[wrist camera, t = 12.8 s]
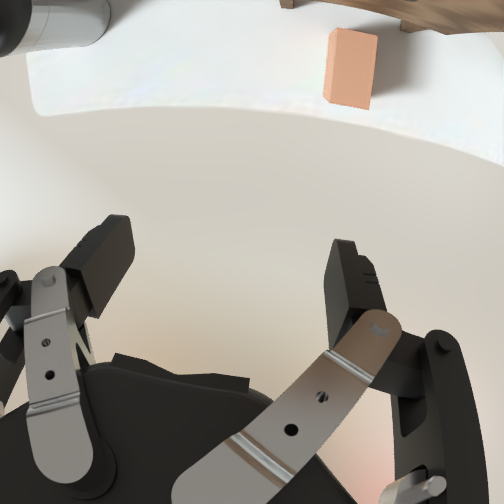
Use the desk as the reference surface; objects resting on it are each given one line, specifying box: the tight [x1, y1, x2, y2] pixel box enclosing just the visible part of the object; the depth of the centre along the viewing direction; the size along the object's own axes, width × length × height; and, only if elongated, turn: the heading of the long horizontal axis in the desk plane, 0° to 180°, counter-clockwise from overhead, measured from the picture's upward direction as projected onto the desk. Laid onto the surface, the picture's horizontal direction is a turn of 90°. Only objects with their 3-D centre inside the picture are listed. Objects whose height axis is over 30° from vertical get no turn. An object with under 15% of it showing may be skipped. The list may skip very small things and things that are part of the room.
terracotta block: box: [323, 28, 378, 110], centre depth 31 cm, size 4×9×8 cm, turn 177°
